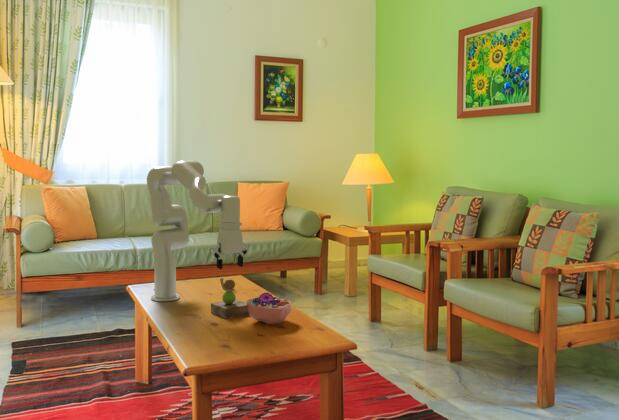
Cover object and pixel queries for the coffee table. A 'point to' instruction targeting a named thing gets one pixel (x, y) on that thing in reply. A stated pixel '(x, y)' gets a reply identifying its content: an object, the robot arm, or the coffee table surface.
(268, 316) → the cell model
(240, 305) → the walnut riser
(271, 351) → the coffee table surface
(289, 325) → the coffee table surface
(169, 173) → the robot arm
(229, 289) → the snail figurine
